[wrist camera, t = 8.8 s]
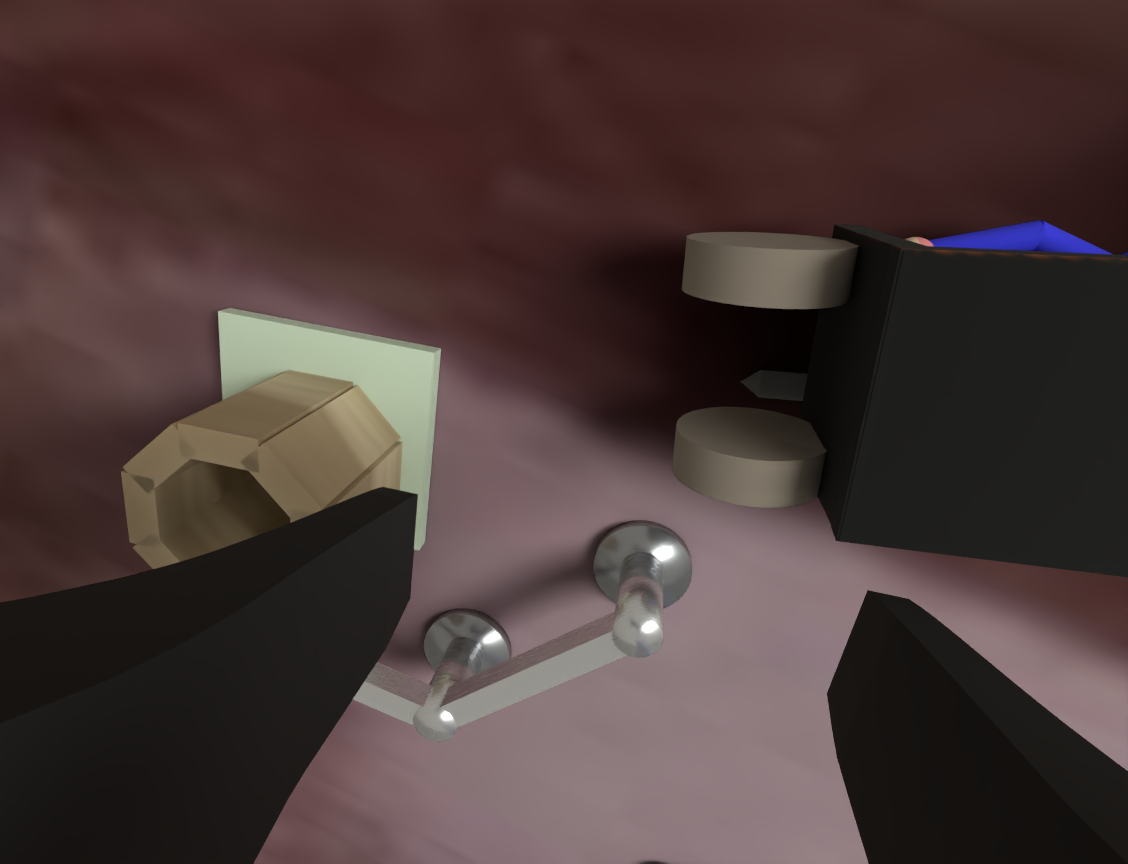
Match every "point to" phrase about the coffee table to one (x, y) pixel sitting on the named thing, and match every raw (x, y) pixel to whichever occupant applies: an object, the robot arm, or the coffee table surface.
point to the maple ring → (256, 465)
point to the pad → (376, 364)
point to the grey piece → (483, 650)
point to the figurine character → (931, 391)
